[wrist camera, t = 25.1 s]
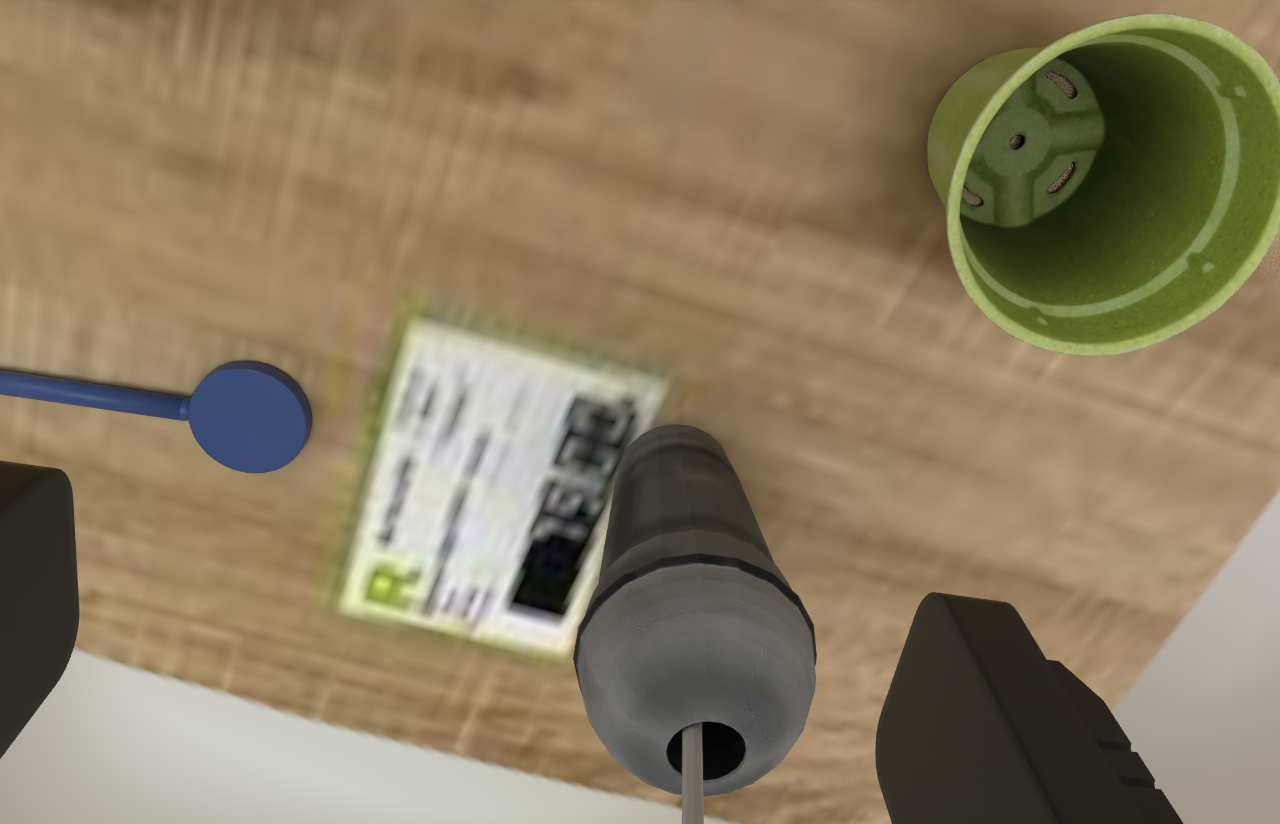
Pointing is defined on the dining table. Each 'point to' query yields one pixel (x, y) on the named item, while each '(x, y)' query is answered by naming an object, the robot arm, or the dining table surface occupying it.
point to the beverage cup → (692, 628)
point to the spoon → (203, 410)
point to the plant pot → (1110, 181)
